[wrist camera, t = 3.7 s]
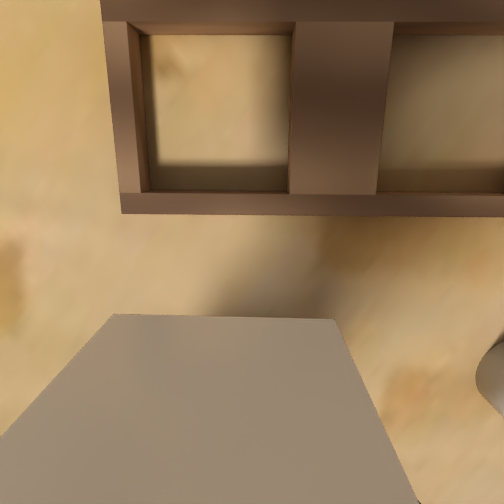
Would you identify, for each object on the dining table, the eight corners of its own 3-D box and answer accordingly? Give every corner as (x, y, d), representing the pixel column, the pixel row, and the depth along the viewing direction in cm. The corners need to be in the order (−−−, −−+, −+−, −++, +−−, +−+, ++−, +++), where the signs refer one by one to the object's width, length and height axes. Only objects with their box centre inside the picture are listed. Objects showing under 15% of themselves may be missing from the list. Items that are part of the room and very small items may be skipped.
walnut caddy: (519, 212, 17) (544, 217, 15) (133, 209, 17) (121, 213, 16) (566, 9, 14) (600, -8, 13) (114, 9, 15) (99, -8, 13)
